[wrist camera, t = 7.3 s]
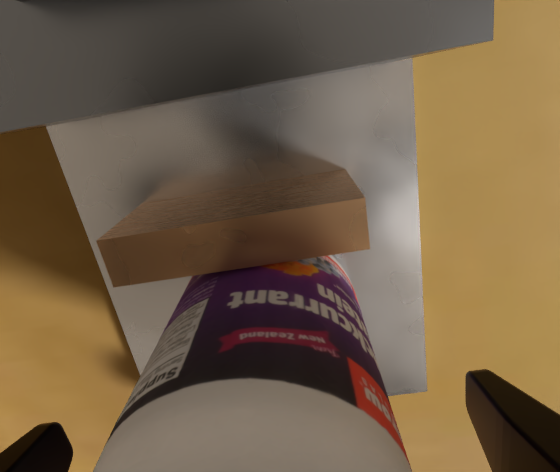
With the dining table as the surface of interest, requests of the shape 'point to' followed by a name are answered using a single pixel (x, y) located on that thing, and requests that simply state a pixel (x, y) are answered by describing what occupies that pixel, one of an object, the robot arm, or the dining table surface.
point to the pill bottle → (261, 381)
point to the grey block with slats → (238, 143)
